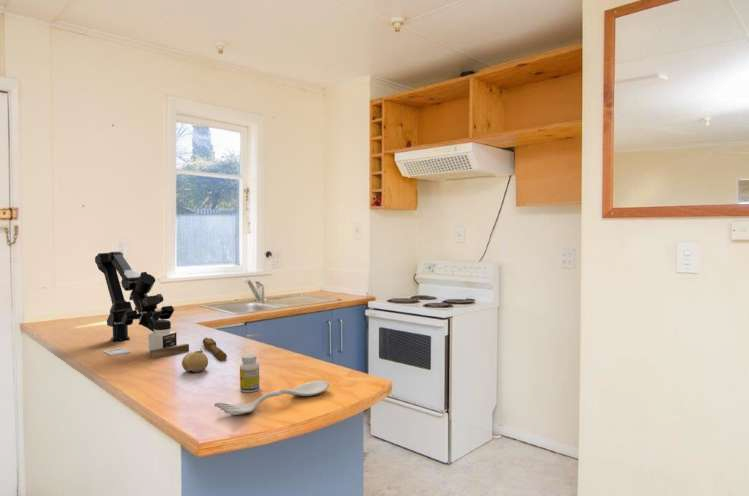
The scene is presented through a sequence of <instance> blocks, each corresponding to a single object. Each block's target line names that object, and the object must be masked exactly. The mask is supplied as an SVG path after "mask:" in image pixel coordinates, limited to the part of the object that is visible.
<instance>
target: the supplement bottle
mask: <svg viewBox="0 0 749 496" xmlns="http://www.w3.org/2000/svg"><path fill="white" fill-rule="evenodd" d="M241 361H242V363H241V364H239V386H240V391H241V392H242V393H248V394H249V393H255V392H257V391H259V390H260V388H261V386H260V385H261V384H260V383H261V382H260V381H261V380H260V364H259V362H257V355H256V354H244V355H243V356H242V357H241Z"/></svg>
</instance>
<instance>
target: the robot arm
mask: <svg viewBox="0 0 749 496" xmlns="http://www.w3.org/2000/svg"><path fill="white" fill-rule="evenodd" d="M94 262H95V264H96V265H97V269H98V270H99V271H100V272H101V273H103V275H104V279H105V283H106V287H107V290H108V293H109V297H110V301H111V304H112V305H111V307H110V309H109V315H108V317H107V319H106V324H107V326H108V327H112V337H111V338H110V339H111V341H112V342H117V341H118V342H120V341H127V340H131V337H130V336H129V326H131V325H133V323H134V320H135V321H136V320H138V321H139V322H138V325H139V326H142V327H144V328H146V329H148V330H150V331H151V332H153V333H155V332H154V322H155V321H156V320H162V319H167V320H170V318H171V317H172V315H173V314H174V312H175V308H174V307H173V306H172V305H166V306H164V305H163V306H162V307H161V308H160V309H159V310H157V309H158V305H159V304H161V303H163V302H164V296H163V295H162V293H157V294H155V295H148V294H149V293H151V290H152V288H153V286H154V284H155V282H156V278H155V276H154V275H152V274H150V273H147V271H142V272H141V273H139V272H136V271H134V270H133V268H131V265H130V264H129V263H128V261H127V260H126V259H125V257H124V253H123V252H121V251H109V252H100V253H97V255H96V256H94ZM118 274H119V275H118ZM119 276H120V277H121V282H120V279H119ZM122 289H123V290H124V291H125V292H128V291H131V292H130V294H129V301H126V300H125V297H124V292H123V290H122ZM131 301H132V302H133V305H134V306H135V307H134V309H133V307H132V303H131Z"/></svg>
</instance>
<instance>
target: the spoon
mask: <svg viewBox="0 0 749 496" xmlns="http://www.w3.org/2000/svg"><path fill="white" fill-rule="evenodd" d="M329 387H330V383H329V382H327V381H326V380H314V381H310V382H307V383H306V382H305V383H303V384H302V383H301V384H300V385H298V386H295V387H292V388H290V389H280V390H273V391H271V392H268V393H266V394H263V395H262V396H259V397H258V398H257V399H255V400H254V401H252V402H250V403H225V402H215V403H214V407H217V408H219V409H220V411H224V412H226V413H228V414H230V415H231V416H239V415H244V414H248V413H251V412H253V411H254V410H255V409H256V407H258V405H259V404H261V403H262V402H263V401H265V400H266V399H269V398H273V397H278V396H279V397H280V396H281V395H284V394H286V395H293V396H294V395H295V396H300V397H311V396H316V395H319V394H321V393H323V392H325V391H326V390H328V389H329Z"/></svg>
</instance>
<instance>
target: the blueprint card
mask: <svg viewBox="0 0 749 496" xmlns="http://www.w3.org/2000/svg"><path fill="white" fill-rule="evenodd" d="M102 351H103V352H104V353H106V354H108V355H109V356H117V355H123V354H128V353H131V351H130V350H128V349H127V348H124V347H116V348H111V349H104V350H103V349H102Z"/></svg>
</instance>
